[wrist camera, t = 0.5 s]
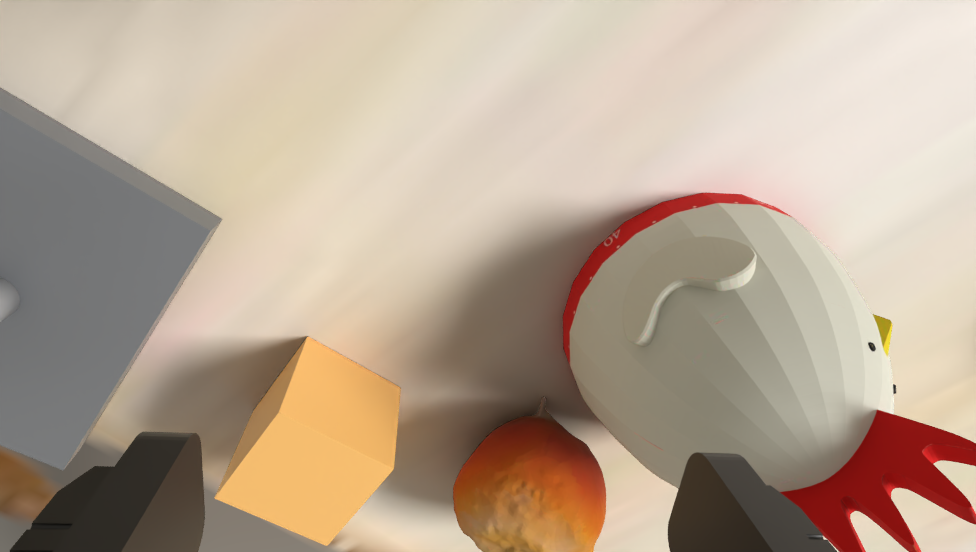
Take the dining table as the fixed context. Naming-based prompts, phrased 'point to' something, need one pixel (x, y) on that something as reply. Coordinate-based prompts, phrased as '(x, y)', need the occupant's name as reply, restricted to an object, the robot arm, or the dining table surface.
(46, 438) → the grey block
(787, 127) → the dining table surface
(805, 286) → the kitchen timer
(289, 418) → the peach colored cube
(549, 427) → the fruit
